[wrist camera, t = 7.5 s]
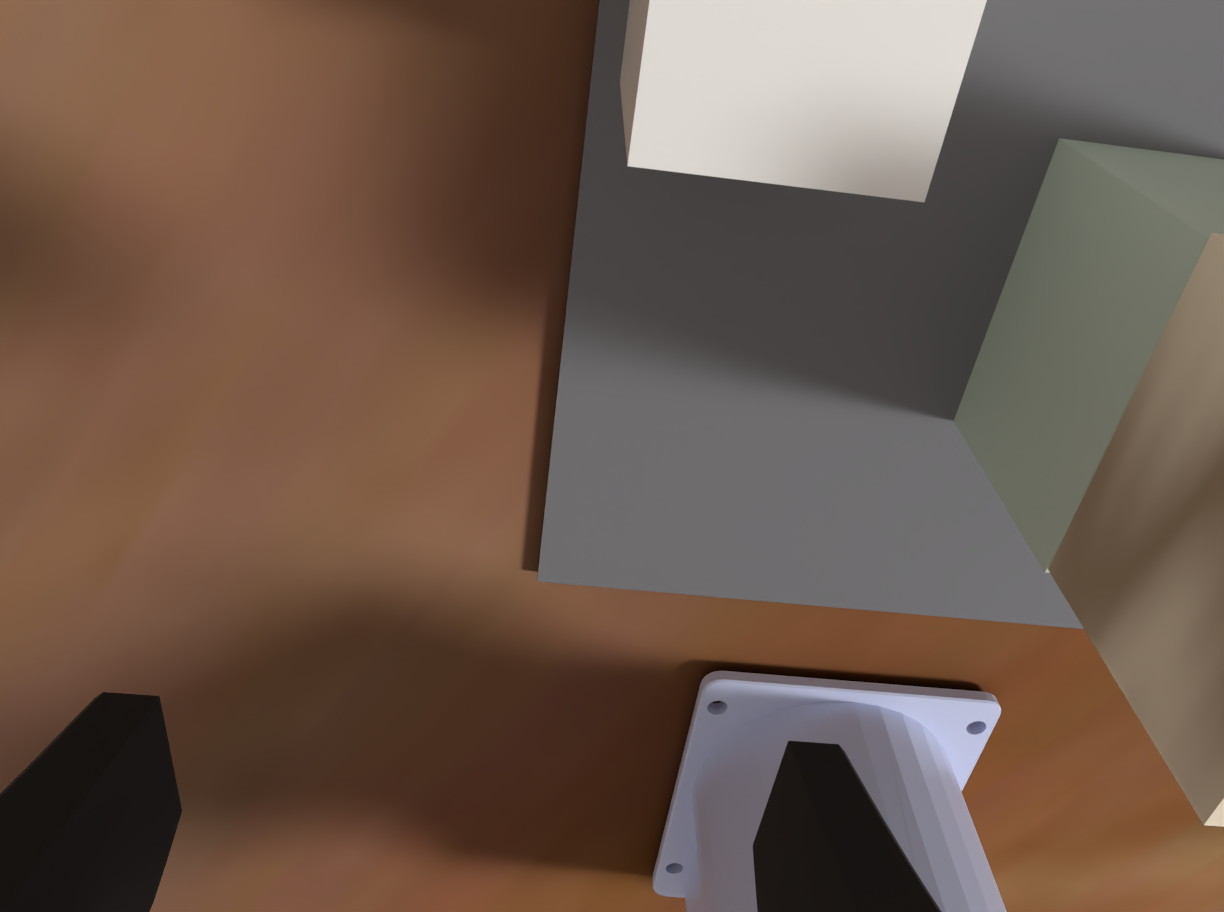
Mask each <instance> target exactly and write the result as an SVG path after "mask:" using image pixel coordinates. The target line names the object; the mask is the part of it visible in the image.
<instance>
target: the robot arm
mask: <svg viewBox="0 0 1224 912" xmlns="http://www.w3.org/2000/svg"><path fill="white" fill-rule="evenodd" d="M713 701H722V702H720V703H712V702H713ZM1000 714H1001V708H1000V705H999V703H998V701H997V699H996V697H995V696H994V695H993V694H991V693H987V692H981V691H969V690H956V689H944V688H931V687H919V686H907V685H894V684H882V683H869V682H857V681H845V680H832V679H820V678H807V677H795V676H782V675H770V674H758V673H745V672H733V671H715V672H712V673H709V674H708V675H706V676H705V677H704V678H703V679H702V681H701V683H700V687H699V691H698V695H697V699H696V703H695V707H694V711H693V716H692V720H691V724H690V728H689V732H688V736H687V740H686V744H685V748H684V752H683V756H682V760H681V764H680V768H679V772H678V776H677V780H676V784H675V788H674V792H673V796H672V800H671V804H670V808H669V812H668V816H667V820H666V824H665V828H664V832H663V836H662V840H661V844H660V848H659V852H658V856H657V860H656V864H655V868H654V872H653V876H652V877H653V889H654V891H655V892H656V893H657V894H659V895H661V896H667V897H682V898H685V901H686V912H1007V911H1006V909H1005V906H1004V903H1003V901H1002V898H1001V895H1000V893H999V890H998V888H997V885H996V882H995V880H994V877H993V874H992V872H991V869H990V866H989V864H988V861H987V858H986V856H985V853H984V851H983V848H982V845H981V843H980V840H979V837H978V835H977V832H976V829H975V827H974V824H973V821H972V819H971V816H970V814H969V811H968V808H967V806H966V803H965V800H964V798H963V795H962V790H963V788H964V786H965V784H966V782H967V780H968V778H969V776H970V774H971V772H972V770H973V768H974V766H975V764H976V762H977V760H978V758H979V756H980V754H981V752H982V750H983V748H984V746H985V744H986V742H987V740H988V738H989V736H990V734H991V732H992V730H993V728H994V726H995V724H996V722H997V720H998V718H999V716H1000ZM975 721H976V722H975ZM972 722H973V723H972ZM181 812H182V809H181V804H180V799H179V794H178V788H177V783H176V778H175V773H174V768H173V763H172V758H171V753H170V748H169V743H168V738H167V733H166V728H165V722H164V717H163V712H162V707H161V702H160V697H159V696H149V695H135V694H121V693H106V692H103V693H102V694H100V695H99V696H97V697H96V698H95V699H94V700H93V701H92V702H91V703H90V704H89V705H88V706H87V707H86V708H85V709H84V710H83V711H82V712H81V713H80V714H79V715H78V716H77V717H76V718H75V719H74V720H73V721H72V722H71V723H70V724H69V725H68V726H67V727H66V728H65V729H64V730H63V731H62V732H61V733H60V734H59V735H58V736H57V737H56V738H55V739H54V740H53V741H52V742H51V744H50V745H49V746H48V747H47V748H46V749H45V750H44V751H43V752H42V753H41V754H40V755H39V756H38V757H37V758H36V759H35V760H34V761H33V762H32V763H31V764H30V765H29V766H28V767H27V768H26V769H25V770H24V771H23V772H22V773H21V774H20V775H19V776H18V777H17V778H16V779H15V780H14V781H13V782H12V783H11V784H10V785H9V786H8V787H7V788H6V789H5V790H4V791H3V792H2V793H1V794H0V912H149V911H150V909H151V906H152V904H153V902H154V898H155V895H156V892H157V889H158V886H159V883H160V880H161V877H162V874H163V871H164V868H165V865H166V862H167V858H168V855H169V852H170V849H171V845H172V842H173V839H174V835H175V832H176V829H177V825H178V822H179V819H180V816H181Z"/></svg>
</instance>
